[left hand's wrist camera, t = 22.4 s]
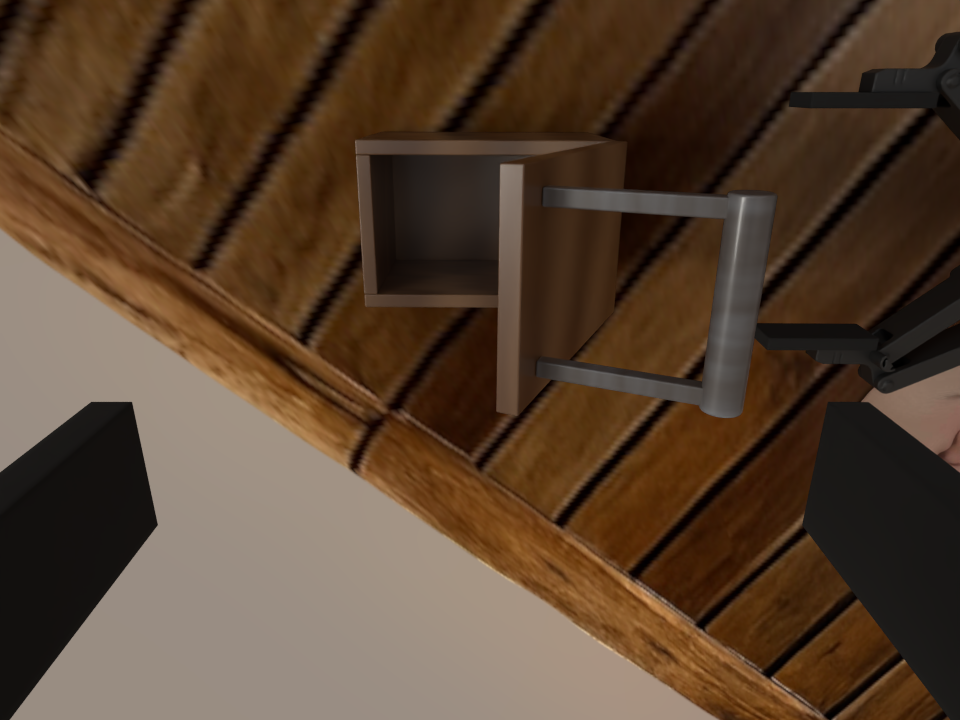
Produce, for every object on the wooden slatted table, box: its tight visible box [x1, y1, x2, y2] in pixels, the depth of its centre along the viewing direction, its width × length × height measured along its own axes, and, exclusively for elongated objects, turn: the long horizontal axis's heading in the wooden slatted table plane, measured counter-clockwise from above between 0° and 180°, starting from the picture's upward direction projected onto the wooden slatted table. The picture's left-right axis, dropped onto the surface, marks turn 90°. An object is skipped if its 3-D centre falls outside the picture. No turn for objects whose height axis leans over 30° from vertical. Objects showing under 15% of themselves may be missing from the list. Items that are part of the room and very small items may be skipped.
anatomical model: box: [861, 366, 960, 472], centre depth 50 cm, size 13×4×12 cm
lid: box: [496, 141, 777, 418], centre depth 28 cm, size 15×9×9 cm
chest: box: [355, 132, 615, 307], centre depth 41 cm, size 14×9×10 cm, turn 90°
